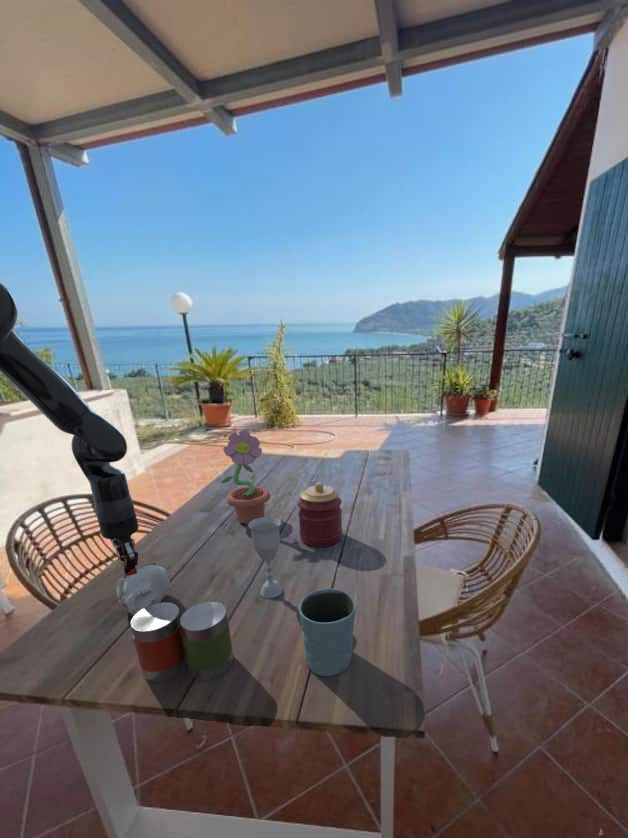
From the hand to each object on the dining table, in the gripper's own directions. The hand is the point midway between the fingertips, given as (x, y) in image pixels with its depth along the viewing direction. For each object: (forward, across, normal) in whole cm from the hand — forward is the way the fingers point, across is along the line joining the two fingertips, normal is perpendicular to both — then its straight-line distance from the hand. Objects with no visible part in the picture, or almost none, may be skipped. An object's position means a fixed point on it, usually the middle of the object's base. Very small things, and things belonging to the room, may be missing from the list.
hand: (131, 578), depth 95 cm
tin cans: (+1, +36, 0) cm, 36 cm away
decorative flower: (+2, -13, +39) cm, 41 cm away
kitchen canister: (+2, +14, +48) cm, 50 cm away
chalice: (+2, +27, +23) cm, 35 cm away
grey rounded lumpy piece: (+2, +10, 0) cm, 10 cm away
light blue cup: (+1, +52, +19) cm, 56 cm away
